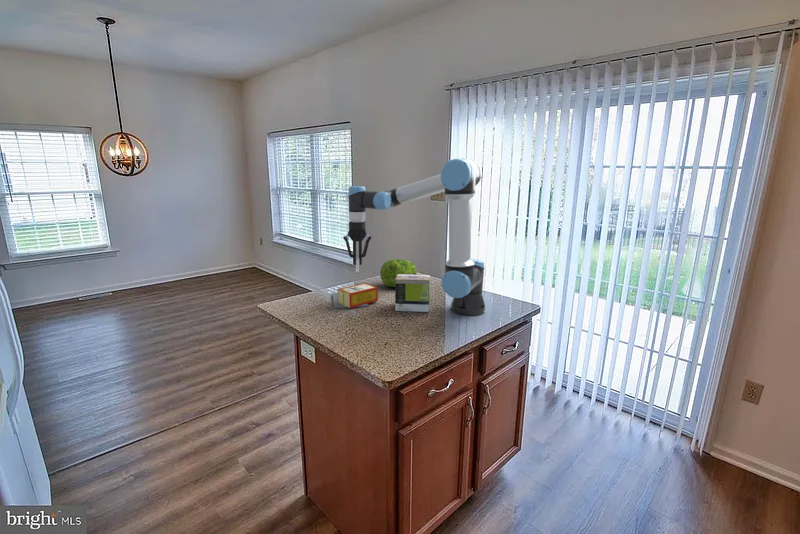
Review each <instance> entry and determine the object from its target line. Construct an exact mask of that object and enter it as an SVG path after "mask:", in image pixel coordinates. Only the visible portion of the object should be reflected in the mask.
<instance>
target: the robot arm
mask: <svg viewBox="0 0 800 534" xmlns="http://www.w3.org/2000/svg"><path fill="white" fill-rule="evenodd" d="M482 173H483V172H482V169H481V166H480V165H479V163H478V162H476V161H475V160H472V159H467V158H464V157H463V158H462V157H460V158H459V157H458V158H457V157H456V158H453V159H450V160H448V161H447V162H446V163H445V164H444V165H443V167H442V168H441V172H440V173H439V174H437V175H434V176H430V177H427V178H424V179H421V180H418V181H415V182H411V183H409V184H406V185H403V186H399V187H396V188H393V189H390V190H381V191H380V190H378V191H377V190H376V191H373V190H372V191H370V190H369V191H368V190H366V186H363V185H352V186H351V185H350V186H349V187H348V195H347V197H348V198H347V199H348V220H349V222H348V232H347V234H346V235H344V236H342V238H343V240H344V241H345V244H346V249H347V252H348V256H349V257H350V258H352V264H353V266H355V272H356V273H360V266H361V265H362V263H363V258H365V257H366V255H367V253H368V248H369V245H370V244H369V243H370V241H371V240H372V236H371V235H368V234H367V231H366V209H369V210H371V209H372V210H378V211H379V210H380V211H382V210H383V211H384V210H388V209H389V208H395V207H398V206H400V205H403V204H407V203H409V202H413V201H416V200H419V199H424V198H427V197H430V196H433V195H437V194H441V193H444V196H445V197H446V198H447V199H448V260H446V261H445V267H444V268H445V269H444V270H445V271H444V272H445V273H444V274H443V276H442V278H441V287H442V289H443V291H444V292H445V294H446V295H448V296H449V297H451V298H452V301H451V303H450V310H451V312H453V313H456V314H459V315H462V314H463V315H464V316H478V315H477V314H480V315H482V314H481V313H483V312H484V311H485V312H486V304H485V300H484V299H485V298H484V295H483V287H484V276H485V275H484V274H485V262H484V261H483V260H481V259H474V258H472V257H471V256H472V255H471V254H472V253H471V252H472V250H471V245H472V243H471V240H472V237H471V236H472V229H471V228H472V198H473V197H474V196H475V195H476V187H477V185H478V184H479V183H480V181H481V178H482ZM349 238H350V240H351V241H352V250H351V246H350V243H349ZM364 239H365V243H364V246H363V247H362V243H363V240H364ZM357 242H358V257H357ZM362 249H363V250H362ZM485 312H484V313H485ZM484 313H483V314H484Z"/></svg>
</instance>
